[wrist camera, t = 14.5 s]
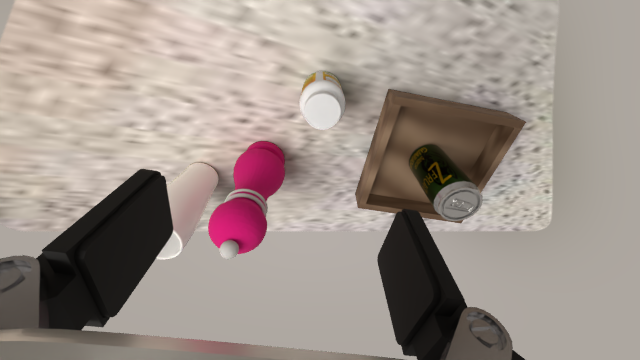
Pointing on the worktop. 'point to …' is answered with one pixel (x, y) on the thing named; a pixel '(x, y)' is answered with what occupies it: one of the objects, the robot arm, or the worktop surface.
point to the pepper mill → (248, 200)
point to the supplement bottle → (322, 100)
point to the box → (438, 129)
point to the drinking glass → (188, 205)
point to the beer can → (444, 183)
